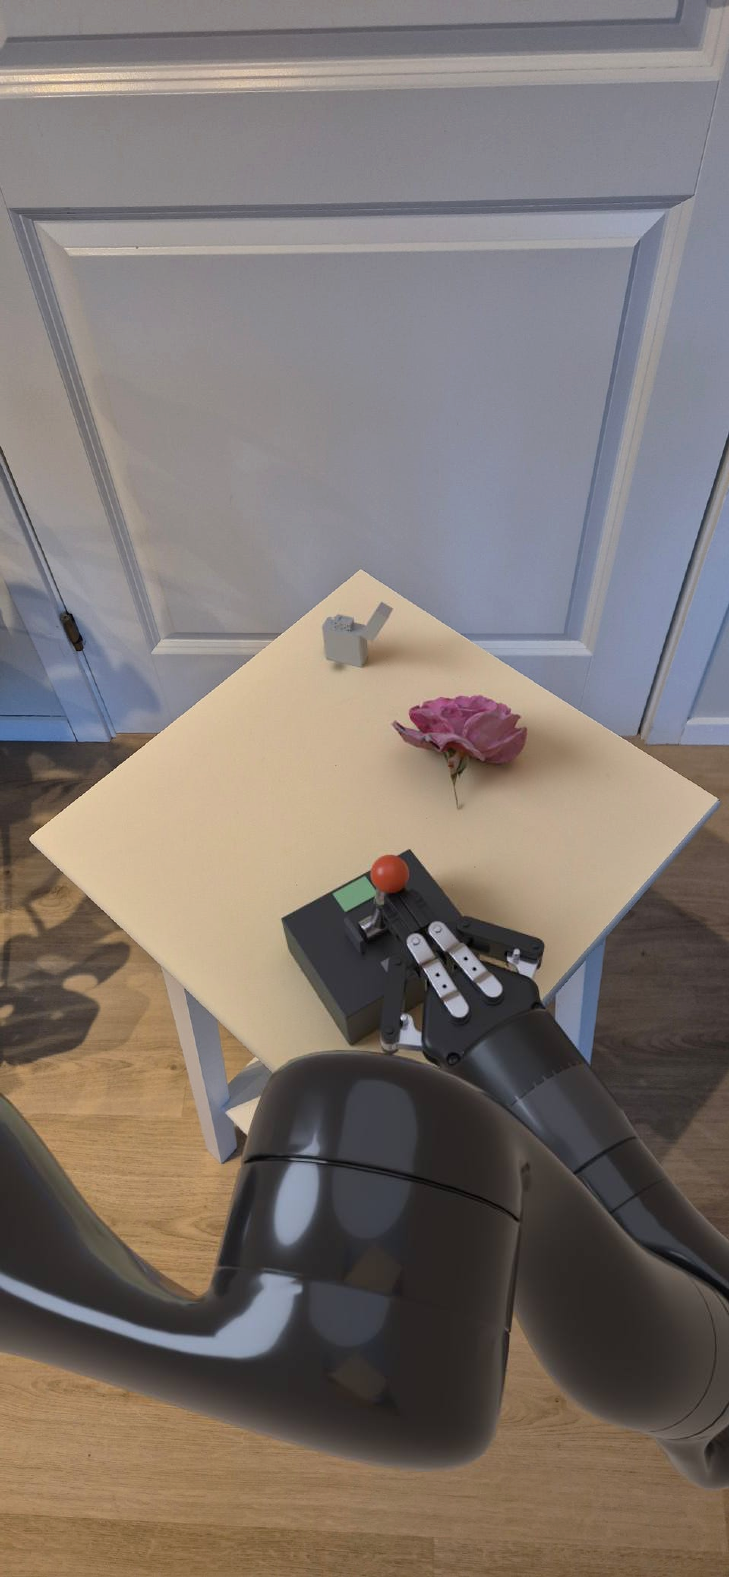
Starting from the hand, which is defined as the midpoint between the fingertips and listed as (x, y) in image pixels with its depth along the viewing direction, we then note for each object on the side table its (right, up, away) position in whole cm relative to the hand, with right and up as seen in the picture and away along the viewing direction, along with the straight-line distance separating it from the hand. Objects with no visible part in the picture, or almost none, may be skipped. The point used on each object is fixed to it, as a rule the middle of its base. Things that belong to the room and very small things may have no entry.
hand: (392, 896), depth 69 cm
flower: (+7, +10, +24) cm, 27 cm away
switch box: (0, -6, +12) cm, 13 cm away
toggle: (-1, -3, +8) cm, 8 cm away
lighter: (-2, +20, +33) cm, 39 cm away
